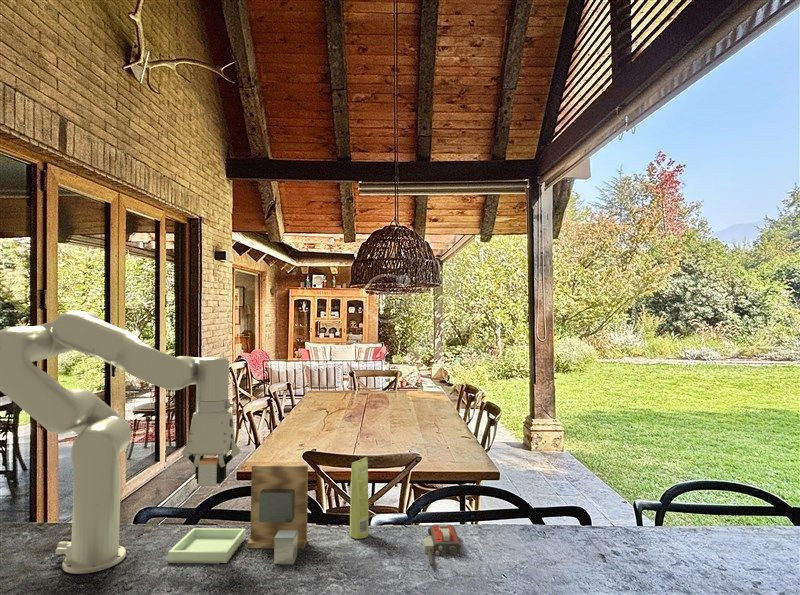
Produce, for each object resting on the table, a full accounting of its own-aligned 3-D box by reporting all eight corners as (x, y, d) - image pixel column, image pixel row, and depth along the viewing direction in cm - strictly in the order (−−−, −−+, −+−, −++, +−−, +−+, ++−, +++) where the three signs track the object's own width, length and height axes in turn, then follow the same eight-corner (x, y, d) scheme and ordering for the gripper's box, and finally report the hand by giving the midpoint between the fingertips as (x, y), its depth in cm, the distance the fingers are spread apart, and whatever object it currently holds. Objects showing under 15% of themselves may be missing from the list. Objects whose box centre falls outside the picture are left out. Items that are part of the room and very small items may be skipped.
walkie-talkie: (420, 534, 133) (427, 571, 113) (421, 517, 133) (427, 551, 113) (454, 534, 133) (466, 571, 113) (454, 517, 133) (466, 551, 113)
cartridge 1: (198, 486, 121) (198, 461, 122) (205, 480, 126) (205, 456, 126) (216, 486, 121) (216, 461, 122) (223, 480, 126) (223, 456, 126)
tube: (348, 531, 134) (348, 457, 135) (366, 530, 135) (367, 456, 136) (351, 540, 128) (351, 462, 129) (370, 538, 129) (371, 461, 131)
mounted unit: (246, 549, 123) (248, 469, 124) (252, 540, 128) (254, 463, 129) (303, 549, 123) (304, 469, 124) (307, 541, 128) (308, 464, 129)
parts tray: (167, 562, 116) (168, 551, 116) (193, 538, 130) (193, 528, 130) (226, 563, 116) (226, 552, 116) (245, 538, 129) (245, 528, 129)
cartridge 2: (274, 564, 116) (274, 537, 116) (278, 555, 120) (279, 529, 120) (293, 564, 116) (293, 537, 116) (297, 555, 120) (297, 529, 120)
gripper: (250, 404, 128) (249, 477, 127) (185, 404, 128) (183, 477, 127) (240, 409, 121) (239, 487, 120) (171, 409, 121) (169, 486, 120)
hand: (210, 481), depth 124 cm, fingers closed on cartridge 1, 4 cm apart
